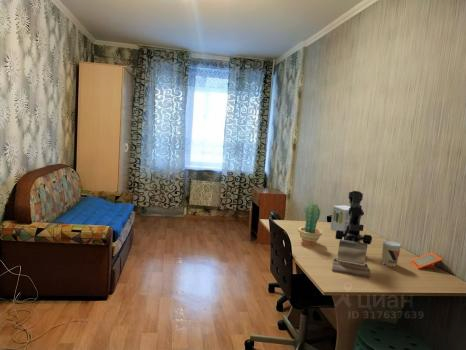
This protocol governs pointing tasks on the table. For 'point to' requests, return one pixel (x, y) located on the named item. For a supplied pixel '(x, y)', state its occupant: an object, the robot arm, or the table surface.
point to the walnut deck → (350, 268)
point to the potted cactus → (310, 225)
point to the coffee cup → (390, 252)
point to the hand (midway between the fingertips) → (352, 250)
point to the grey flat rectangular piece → (352, 251)
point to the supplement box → (340, 218)
